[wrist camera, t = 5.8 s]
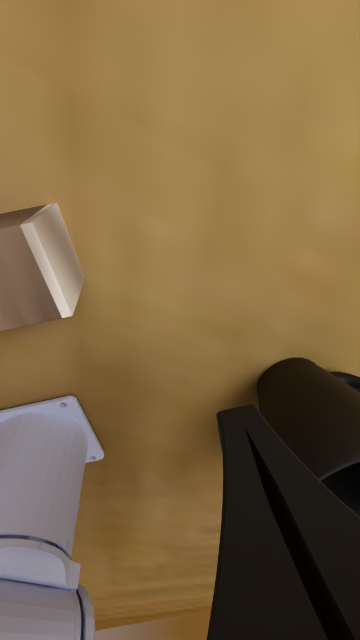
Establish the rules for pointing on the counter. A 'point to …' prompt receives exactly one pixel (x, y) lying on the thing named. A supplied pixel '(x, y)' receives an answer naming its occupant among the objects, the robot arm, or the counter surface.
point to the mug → (317, 421)
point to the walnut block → (37, 267)
